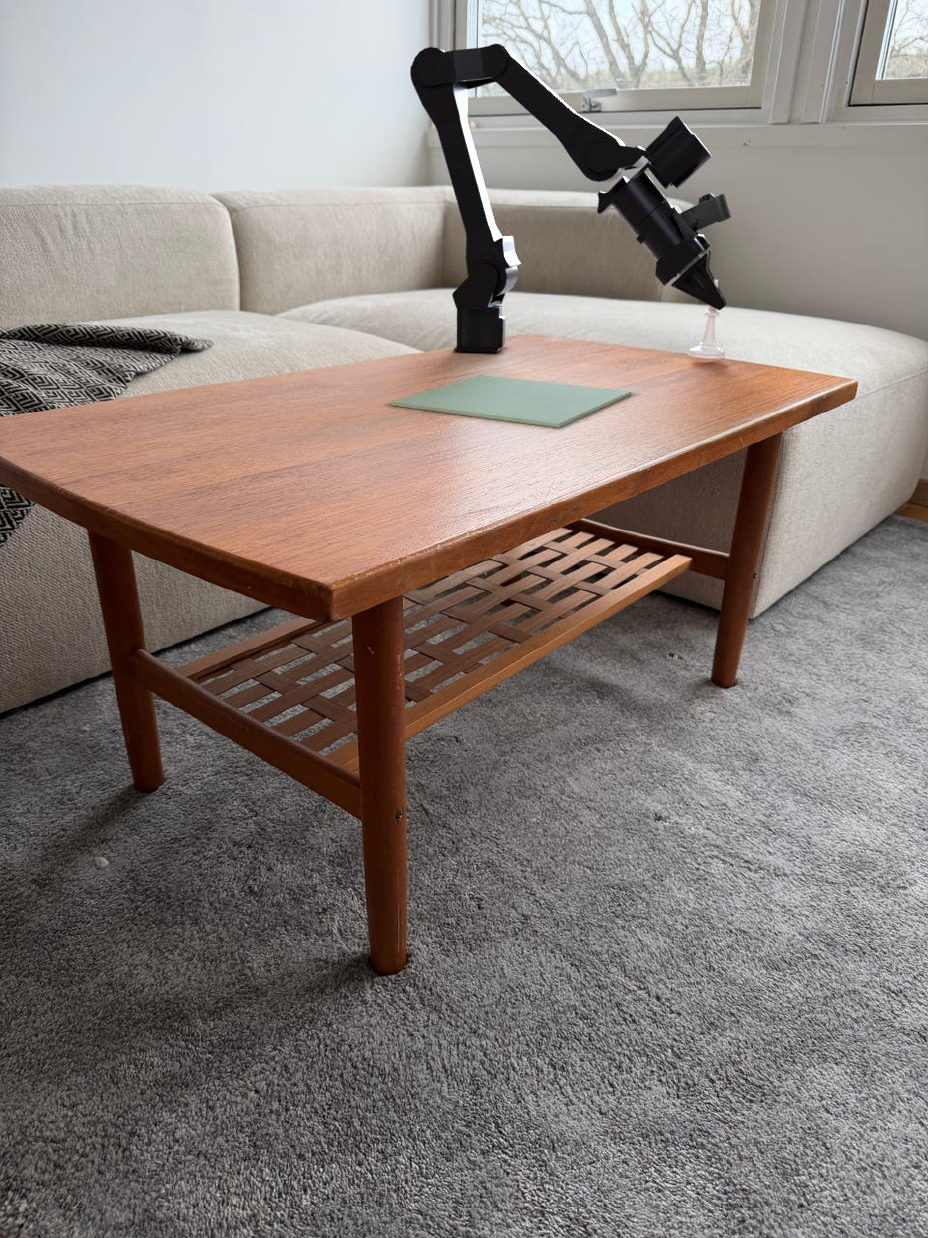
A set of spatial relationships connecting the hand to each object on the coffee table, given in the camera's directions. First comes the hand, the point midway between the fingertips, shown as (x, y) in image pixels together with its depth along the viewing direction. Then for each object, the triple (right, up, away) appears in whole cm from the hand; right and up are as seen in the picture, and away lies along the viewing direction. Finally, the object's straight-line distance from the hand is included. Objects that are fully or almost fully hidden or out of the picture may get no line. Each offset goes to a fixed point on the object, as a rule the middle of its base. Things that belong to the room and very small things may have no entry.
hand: (723, 306), depth 124 cm
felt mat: (-30, -18, -22) cm, 41 cm away
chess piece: (-1, -6, +3) cm, 7 cm away
